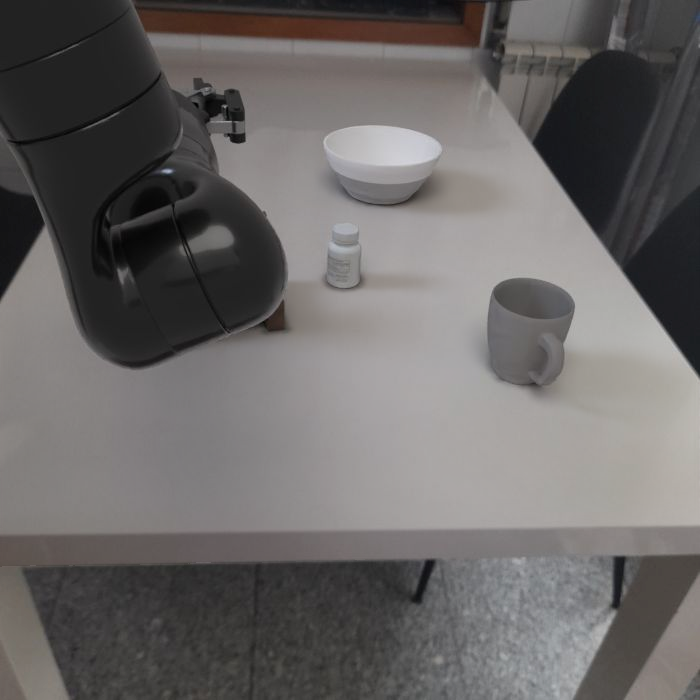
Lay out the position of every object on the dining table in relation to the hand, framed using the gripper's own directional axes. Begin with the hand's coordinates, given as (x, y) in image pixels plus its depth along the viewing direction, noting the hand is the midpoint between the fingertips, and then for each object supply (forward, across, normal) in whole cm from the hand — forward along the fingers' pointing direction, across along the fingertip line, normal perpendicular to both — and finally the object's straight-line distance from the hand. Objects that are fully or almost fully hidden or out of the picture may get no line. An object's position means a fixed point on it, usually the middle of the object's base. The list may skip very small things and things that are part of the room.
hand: (146, 91), depth 61 cm
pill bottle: (+16, -23, +30) cm, 41 cm away
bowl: (+44, -37, +30) cm, 65 cm away
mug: (-9, -37, +30) cm, 49 cm away
